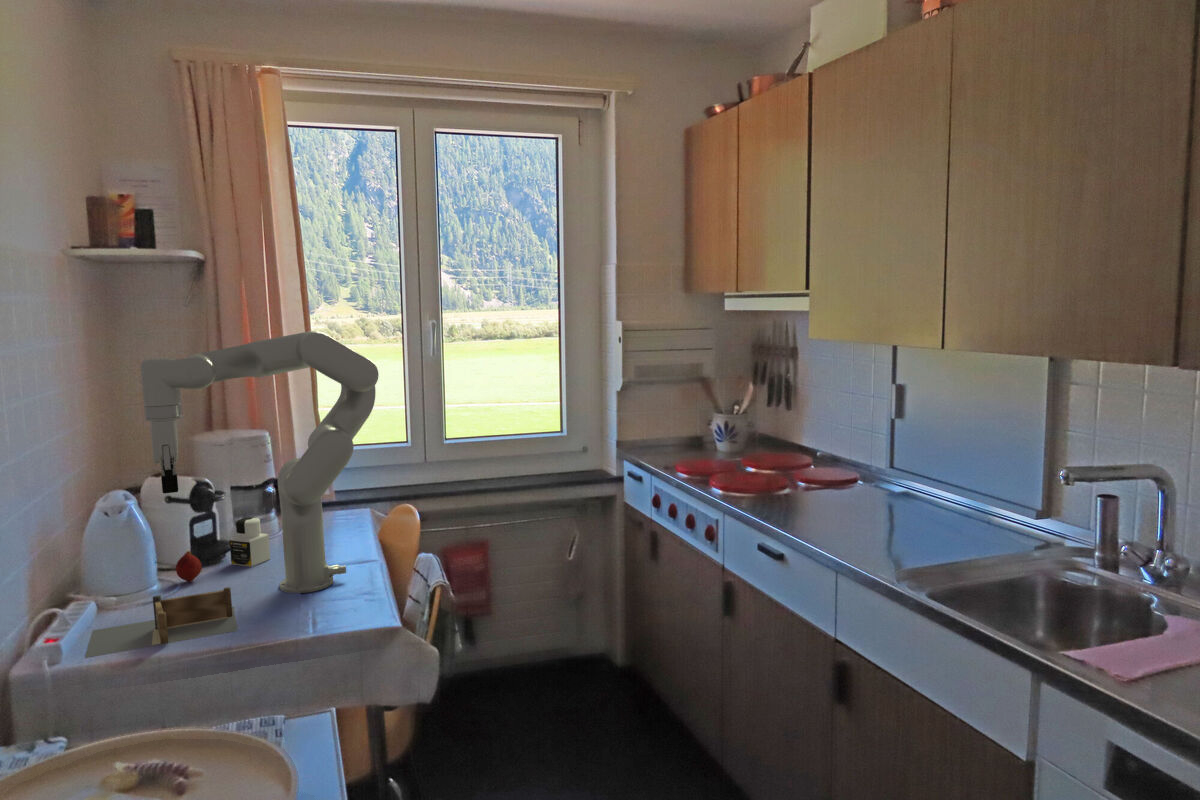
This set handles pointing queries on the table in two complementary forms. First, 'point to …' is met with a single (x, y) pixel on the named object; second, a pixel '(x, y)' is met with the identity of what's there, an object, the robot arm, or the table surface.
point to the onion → (188, 567)
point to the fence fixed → (195, 607)
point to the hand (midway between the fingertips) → (170, 491)
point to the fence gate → (161, 623)
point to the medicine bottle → (249, 543)
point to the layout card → (153, 635)
